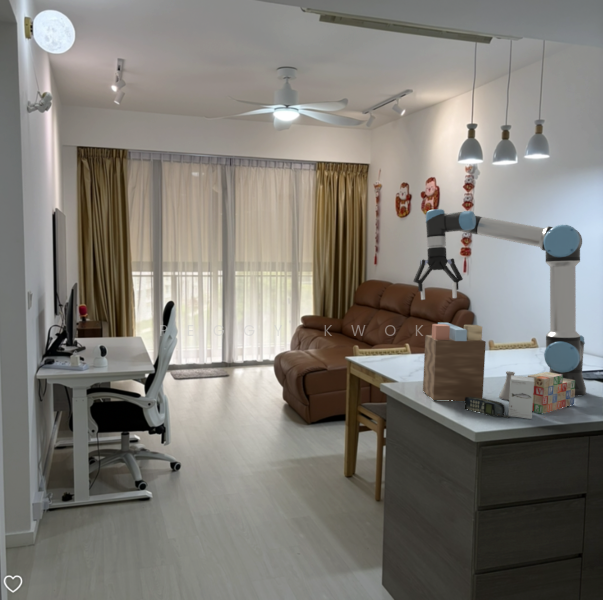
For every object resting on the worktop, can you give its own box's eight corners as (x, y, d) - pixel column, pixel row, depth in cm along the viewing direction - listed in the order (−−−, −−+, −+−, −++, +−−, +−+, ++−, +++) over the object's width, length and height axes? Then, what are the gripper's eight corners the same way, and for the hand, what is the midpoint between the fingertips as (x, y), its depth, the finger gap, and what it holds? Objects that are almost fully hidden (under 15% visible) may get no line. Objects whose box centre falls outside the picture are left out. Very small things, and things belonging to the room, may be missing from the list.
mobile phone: (463, 396, 192) (506, 404, 181) (467, 395, 194) (510, 402, 184) (463, 410, 192) (506, 419, 182) (467, 409, 194) (510, 417, 184)
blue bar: (437, 332, 223) (437, 322, 223) (447, 332, 223) (447, 322, 223) (455, 340, 201) (456, 329, 201) (466, 341, 201) (467, 330, 201)
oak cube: (463, 338, 209) (464, 324, 208) (476, 338, 209) (477, 325, 209) (468, 340, 204) (468, 326, 203) (481, 340, 204) (482, 326, 204)
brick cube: (431, 337, 208) (432, 324, 208) (445, 337, 208) (445, 324, 208) (435, 339, 203) (436, 325, 203) (449, 339, 203) (449, 326, 203)
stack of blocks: (557, 401, 207) (559, 368, 206) (574, 405, 202) (576, 371, 201) (525, 410, 194) (527, 374, 193) (542, 414, 189) (544, 378, 188)
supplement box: (507, 416, 185) (509, 378, 184) (508, 411, 192) (510, 374, 191) (532, 419, 182) (534, 381, 181) (532, 414, 189) (534, 376, 188)
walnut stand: (422, 391, 216) (425, 334, 215) (468, 392, 217) (471, 335, 216) (433, 401, 202) (436, 340, 201) (482, 401, 203) (485, 341, 202)
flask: (520, 401, 205) (522, 374, 204) (500, 400, 207) (501, 373, 206) (517, 397, 212) (519, 370, 212) (497, 395, 214) (498, 369, 213)
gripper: (461, 247, 238) (464, 297, 238) (404, 249, 235) (406, 300, 235) (469, 245, 231) (471, 297, 231) (410, 247, 228) (412, 300, 228)
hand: (438, 298), depth 233 cm, fingers open, 13 cm apart
